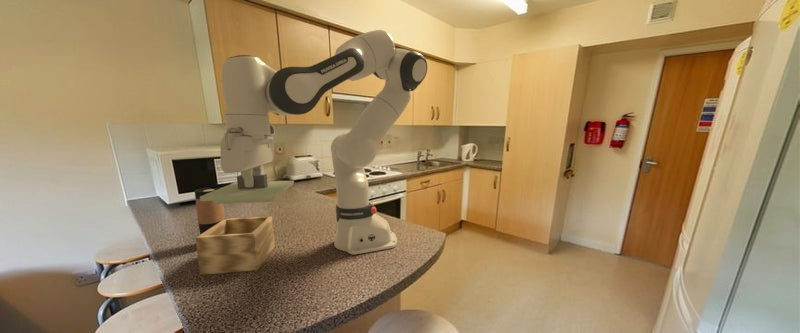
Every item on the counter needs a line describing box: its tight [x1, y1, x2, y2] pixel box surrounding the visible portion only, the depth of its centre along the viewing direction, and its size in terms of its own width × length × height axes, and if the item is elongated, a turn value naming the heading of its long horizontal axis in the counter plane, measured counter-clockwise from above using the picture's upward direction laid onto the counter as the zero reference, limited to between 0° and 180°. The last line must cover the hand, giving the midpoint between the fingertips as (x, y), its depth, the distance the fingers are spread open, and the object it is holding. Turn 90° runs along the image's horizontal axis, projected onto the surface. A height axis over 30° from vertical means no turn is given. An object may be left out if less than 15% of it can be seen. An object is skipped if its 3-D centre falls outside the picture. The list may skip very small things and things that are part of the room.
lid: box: [200, 174, 295, 205], centre depth 61 cm, size 15×15×5 cm
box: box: [194, 215, 276, 276], centre depth 77 cm, size 15×15×11 cm
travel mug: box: [194, 186, 226, 235], centre depth 88 cm, size 8×8×20 cm
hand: (253, 185), depth 61 cm, fingers closed on lid
